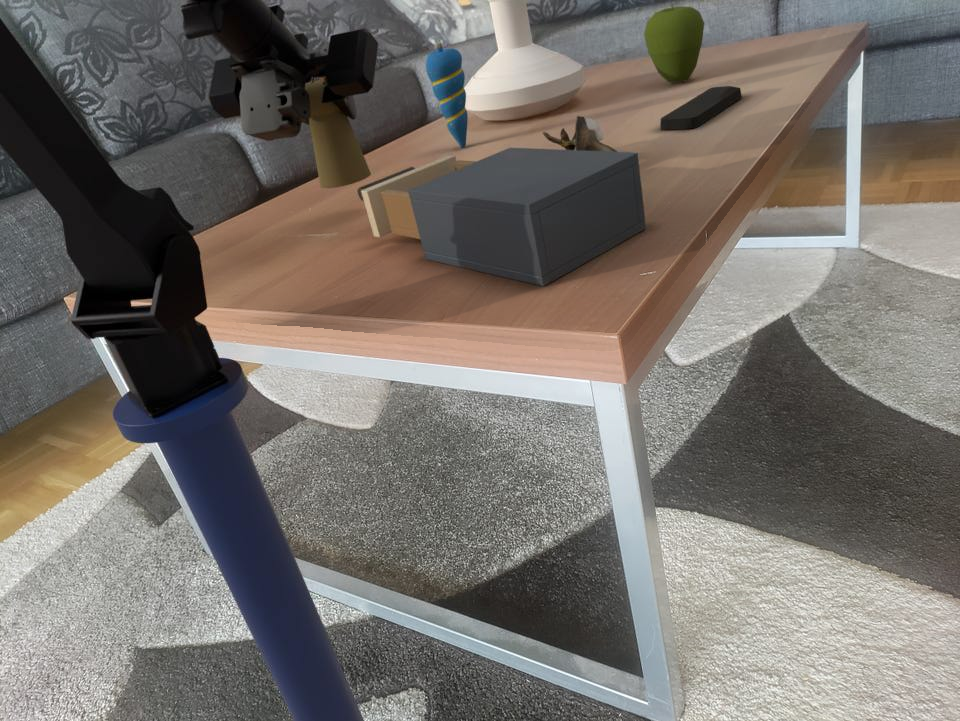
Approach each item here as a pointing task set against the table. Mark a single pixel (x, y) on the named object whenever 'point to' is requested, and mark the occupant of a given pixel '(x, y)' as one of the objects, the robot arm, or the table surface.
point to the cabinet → (530, 211)
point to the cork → (334, 142)
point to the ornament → (449, 89)
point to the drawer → (401, 196)
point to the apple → (675, 41)
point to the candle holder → (520, 71)
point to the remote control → (701, 108)
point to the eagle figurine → (582, 137)
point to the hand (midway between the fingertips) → (334, 119)
